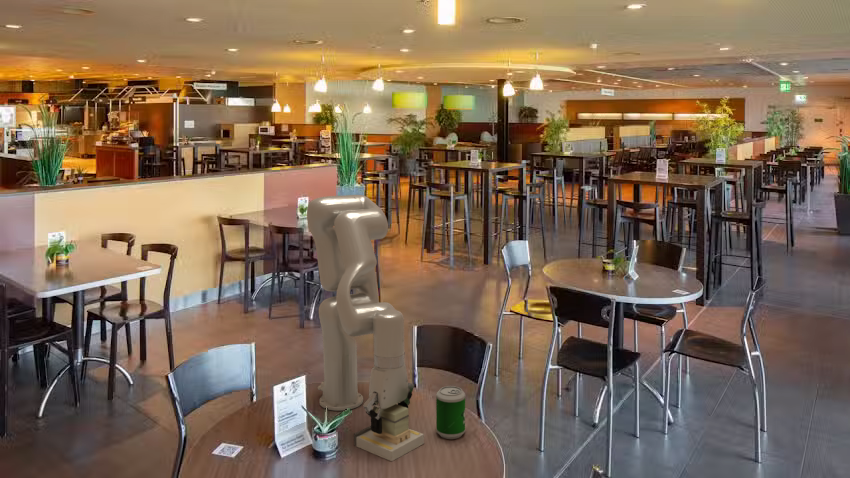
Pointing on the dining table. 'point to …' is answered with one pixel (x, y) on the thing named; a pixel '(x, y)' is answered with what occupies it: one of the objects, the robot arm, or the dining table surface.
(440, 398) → the soda can
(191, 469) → the dining table surface
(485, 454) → the dining table surface
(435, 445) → the dining table surface
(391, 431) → the pallet
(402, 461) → the dining table surface
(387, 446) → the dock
